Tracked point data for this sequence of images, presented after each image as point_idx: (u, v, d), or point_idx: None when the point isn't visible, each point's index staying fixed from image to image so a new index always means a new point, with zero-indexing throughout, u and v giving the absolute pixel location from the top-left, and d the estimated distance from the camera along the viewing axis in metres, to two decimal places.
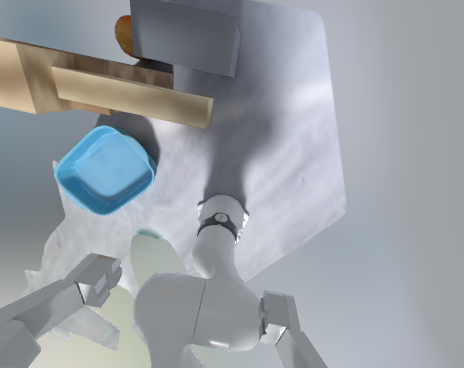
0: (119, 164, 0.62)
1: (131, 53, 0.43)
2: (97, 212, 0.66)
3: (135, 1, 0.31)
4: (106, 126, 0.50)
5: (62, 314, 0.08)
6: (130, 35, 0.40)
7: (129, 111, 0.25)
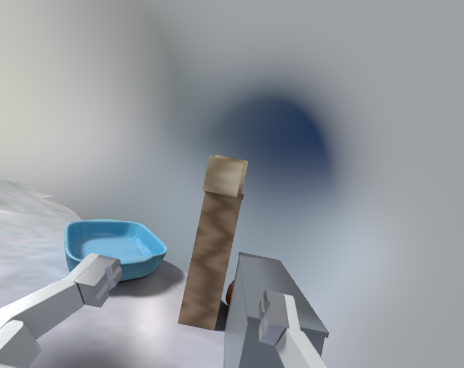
0: None
1: (231, 283, 0.43)
2: (79, 222, 0.59)
3: (277, 261, 0.36)
4: (165, 251, 0.49)
5: (62, 314, 0.08)
6: None
7: None
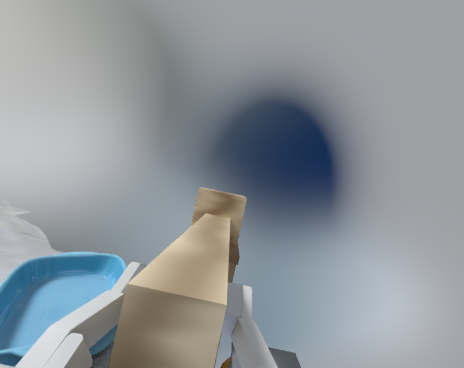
0: None
1: None
2: (40, 259, 0.48)
3: (292, 358, 0.23)
4: None
5: (110, 324, 0.08)
6: None
7: (192, 226, 0.17)
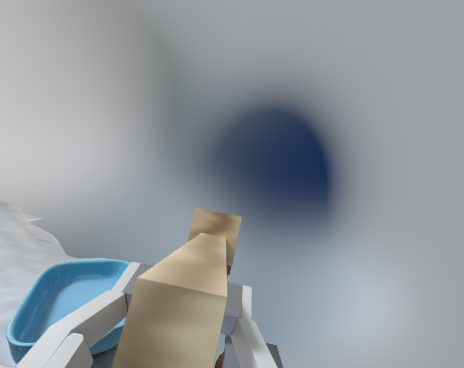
0: None
1: (219, 360, 0.36)
2: (61, 265, 0.54)
3: (273, 349, 0.29)
4: None
5: (110, 324, 0.08)
6: None
7: (190, 242, 0.17)
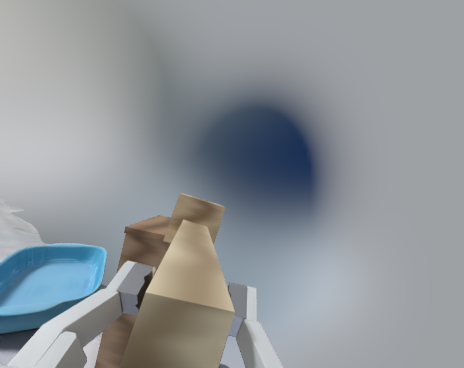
0: (47, 295, 0.46)
1: None
2: (35, 247, 0.57)
3: None
4: (89, 294, 0.41)
5: (104, 323, 0.08)
6: None
7: (177, 234, 0.17)
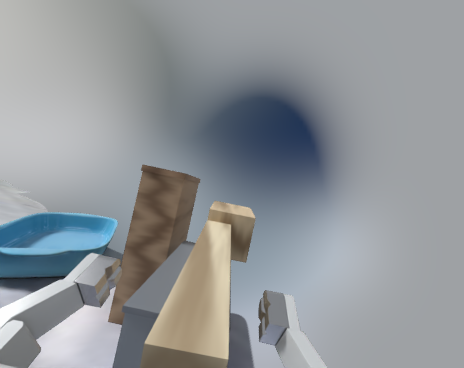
0: None
1: None
2: (51, 214, 0.58)
3: None
4: (95, 248, 0.40)
5: (62, 314, 0.08)
6: None
7: None
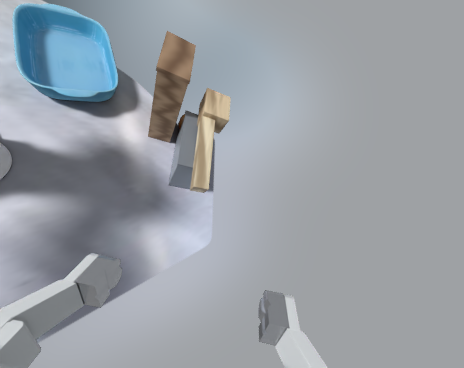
0: (76, 72, 0.58)
1: (182, 117, 0.65)
2: (28, 7, 0.54)
3: None
4: (113, 88, 0.55)
5: (62, 314, 0.08)
6: None
7: (211, 151, 0.48)
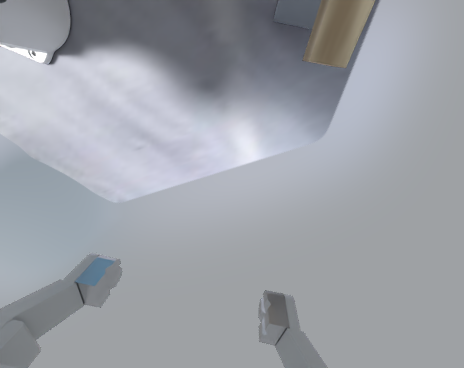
0: None
1: None
2: None
3: None
4: None
5: (62, 314, 0.08)
6: None
7: None
